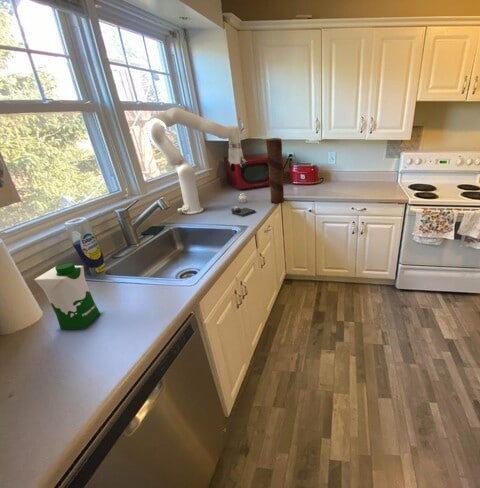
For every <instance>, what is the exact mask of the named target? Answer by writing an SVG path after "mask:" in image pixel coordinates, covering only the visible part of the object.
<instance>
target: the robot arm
mask: <svg viewBox="0 0 480 488" xmlns="http://www.w3.org/2000/svg"><path fill="white" fill-rule="evenodd" d="M176 124H178V125H180V126H184V127H187V128H189V129H191V130H194V131H198V132H200V133H205V134H208V135H211V136H214V137H217V138H219V139H223V140H226V139H228V157H227V161H228V164H229V166H230V172H236V165H239V166H240V174H244V173H246V168H245V167H246V164H247V160H246V159H245V158H244V154H243V153H244V152H243V149H242V144H241V133H240V128H239V126H237V125H233V126H232V125H229V126H225V125H223V124H220V123H217V122H215V121H212V120H210V119H207V118H205V117H203V116H200V115H198V114H195V113H192V112H190V111H187V110H185V109H182V108H179V107H170V108H168V109H166V110H164V111H161V112H159V113H156V114H153V115H151V116H150V117H149V119H148V125H147V133H148V137H149V139H150V141H151V142H152V143H153V145H154V146H155V147H156V149H157V150H158V152H160V153H161V155H162V156H163V158H164V159H165V161H166V162H167V163H168V164H169V165H170V166H171V168H172V169H173V170H174V172H175V173H177V175H178V182H179V186H180V191H181V195H182V201H183V202H182V203H183V205H182V207H180V208H179V207H178V208H177V212H182V213H183V214H185V215H195V214H200V213H202V212H204V207H202V206H201V202H200V197H199V192H198V185H197V180H196V172H195V168H194V167H193V165H191V163H189V162H188V161H187V160H186V158H185V157H184V156H183V154H182V153H181V151H180V150H179V149H178V148H177V147H176V146H175V144H174V143H172V141H171V139H170V138H169V137H168V136H167V134H166V129H167V128H170V127H173V126H175V125H176Z"/></svg>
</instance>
